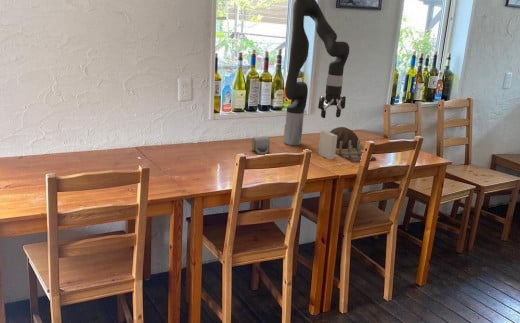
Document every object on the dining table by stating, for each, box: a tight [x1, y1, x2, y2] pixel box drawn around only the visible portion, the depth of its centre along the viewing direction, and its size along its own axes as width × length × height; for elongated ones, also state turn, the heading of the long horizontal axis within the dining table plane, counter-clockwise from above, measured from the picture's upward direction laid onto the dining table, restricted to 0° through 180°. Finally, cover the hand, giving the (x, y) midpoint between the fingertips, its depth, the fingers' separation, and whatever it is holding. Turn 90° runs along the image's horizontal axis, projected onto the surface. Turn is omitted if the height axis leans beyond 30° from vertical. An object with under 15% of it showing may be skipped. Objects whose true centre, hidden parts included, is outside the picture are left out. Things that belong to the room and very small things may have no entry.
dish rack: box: [335, 139, 377, 164], centre depth 244 cm, size 18×14×7 cm
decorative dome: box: [329, 126, 360, 150], centre depth 265 cm, size 19×20×10 cm
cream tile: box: [317, 130, 337, 160], centre depth 241 cm, size 10×3×12 cm, turn 28°
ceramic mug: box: [251, 135, 271, 155], centre depth 242 cm, size 11×8×8 cm
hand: (330, 117), depth 236 cm, fingers open, 8 cm apart
